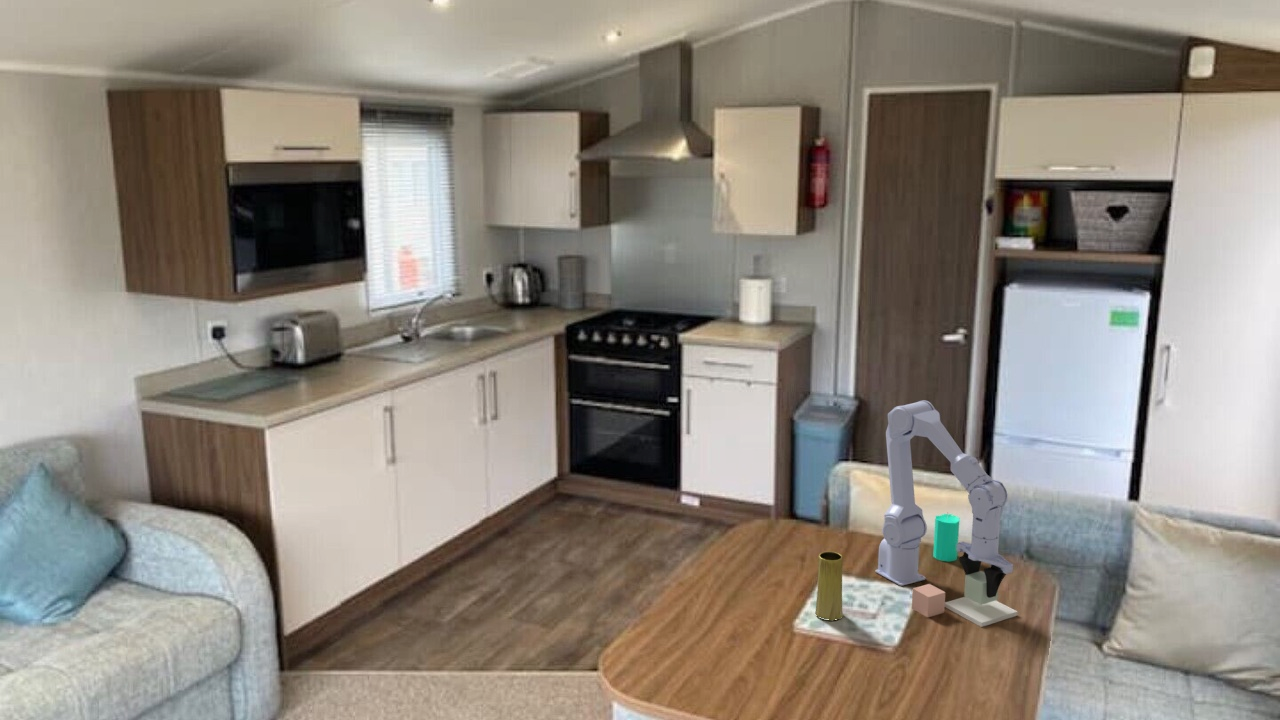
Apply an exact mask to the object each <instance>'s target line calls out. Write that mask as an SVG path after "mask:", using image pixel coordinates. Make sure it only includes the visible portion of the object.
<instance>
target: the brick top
mask: <svg viewBox="0 0 1280 720" xmlns="http://www.w3.org/2000/svg"><path fill="white" fill-rule="evenodd" d="M911 593H912V598H911V600H912V601H911V609H912V610H913V611H915V612H917V613H919V614H920V615H922V616H924V617H925V618H930V617H934V616H938V615H941V614H944V613H945V608H946V607H945V602H946V592H945V591H944V590H942V589H940V588H938V587H936V586H935V585H932V584H931V583H927V584H924V585H921V586H917V587H913V588H912V592H911Z"/></svg>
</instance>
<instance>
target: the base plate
mask: <svg viewBox="0 0 1280 720" xmlns="http://www.w3.org/2000/svg"><path fill="white" fill-rule="evenodd" d="M945 608H946V609H948V610H950V611H952V612H953V613H954V614H956V615H959V616H960V617H962V618H964V619H966V620H968V621H970V622H971V623H974V624H975V625H977V626H978V627H981V628H983V627H986V626H989V625H992V624H996V623H998V622H1001V621H1004V620H1008V619H1010V618H1011V619H1012V618H1015V617H1016V616H1017V617H1018V611H1017V610H1016V609H1013V608H1011V607H1009V606H1008V605H1006V604H1004V603H1002V602H1000V601H998V600H995V601H992V602H989V603H985V604H982V605H981V604H979V603H977V602H975V601H973V600H971V599H969V598H967V597H965V596H963V597H959V598H955V599H953V600H949V601H945Z"/></svg>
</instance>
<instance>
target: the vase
mask: <svg viewBox="0 0 1280 720" xmlns="http://www.w3.org/2000/svg"><path fill="white" fill-rule="evenodd" d="M817 558H818V559H817V561H818V563H817V593H816V602H815V604H816V606H815V612H814V614H816V615H817V616H818V617H821V618H824V619H829V620H835V619H839V620H841V619H842V618H843V616H844V613H843V560H844V559H843V555H842V554H841V553H839V552H836V551H833V550H832V551H829V550H827V551H826V550H825V551H822V552H820V553H819V554H818V557H817ZM816 615H815V616H816ZM817 616H816V617H817ZM818 617H817V618H818ZM841 617H842V618H841ZM840 618H841V619H840Z"/></svg>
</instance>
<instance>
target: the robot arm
mask: <svg viewBox="0 0 1280 720" xmlns="http://www.w3.org/2000/svg"><path fill="white" fill-rule="evenodd" d="M887 422H888V424H887V428H886V430H885V439H886V455H887V463H888V465H887V466H888V478H889V487H890V488H889V489H890V501H891V504H890V506H889V508H888V509H887V511H886V512H885V513H884V516H883V518H884V523H883V525H882V529H881V531H882V536H883V539H882V540H881V542H880V543H879V547H878V560H877V561H878V562H877V564H878V565H877V569H875V573H877V574H879V575H880V576H882V577H884V578H886V579H888V580H889V581H891V582H893V583H894V584H897V585H898V586H901V587H904V586H906V585H910V584H913V583H917V582H921V581H925V580H926V577H925V576H924V575H923V574H920V573H919V559H920V558H919V557H920V543H922V538H923V537H924V536H925V535H926V533H927V530H928V526H927V523H926V522H927V521H926V520H925V517H924V515H923V514H924V513H923V509H922V508H921V507H920V506H919V505H918V504H916V499H915V498H916V497H915V489H914V488H915V487H914V486H915V485H914V473H913V463H912V461H913V460H912V449H911V439H913V438H915V436H918V437H921V438H922V437H924V438H927V439H928V440H929V441H930V442H931V443H932V444H933V445H934V446H935V447H936V448H937V449H938V451H939V452H940V453H941V454H943V455H942V456H943V457H945V458H946V459H947V460H948V461H949V462H950V468H949V469H950V471H951V473H952V474H953V475H954V476H955V478H956V479H957V481H959V483H960V484H961V485H962V486H963V488H964V489H965V490H966V491H967V492H968V494H967V498H968V502H969V504H970V506H971V514H972V525H971V526H972V527H971V528H972V529H971V543H968V542H965V541H958V543H957V549H956V551H957V553H963V555H961V556H959V558H958V561H959V562H960V565H961V566H962V569H963V571H964V575H969V574H972V573H976V572H979V571H980V569H981V565H982V563H985V564H987V565H989V567H987V568H984V569H983V572H984V573H985V576H986V582H987V591H986V592H987V597H989V598H991V597H994V596H996V594H997V591H998V592H999V588H1000V585H1001V583H1002V581H1003V579H1004V578H1005V577H1006V575H1008V574H1012V573H1013V572H1014V571H1013V570H1014V564H1013V563H1011V561H1008V560H1007V559H1006V558H1004V557H1003V556H1002V555H1001V554H1000V553H999V545H1000V544H999V542H1000V528H1001V514H1002V513H1001V512H1002V505H1004V504H1005V503H1006V502H1007V500H1008V491H1007V489H1006V487H1005V486H1004V484H1003V482H1001V481H1000V480H999V479H998V480H997V479H995V478H994V477H992V476H990V475H988V473H986V471H985V470H984V468H983V467H982V466H981V465H980V464H979V460H978V459H977V458H976V457H975V456H973V455H971V454H967V453H964V452H963V451H962V450H961V448H960V447H959V446H958V444H957V443H956V441H955V440H954V439H953V437H952V436H951V434H950V433H949V431H948V430H947V429H946V427H945V426H944V424H943V423H942V421H941V415H940V412H939V411H938V410H937V409H936V408H935V407H934V405H933V404H932V402H930V401H928V400H924V399H923V400H919V401H917V402H913V403H908V404H905V405H904V404H903V405H898V406H895V407H893V408H892V409H891V410H890V411H889V412H888V413H887Z"/></svg>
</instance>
